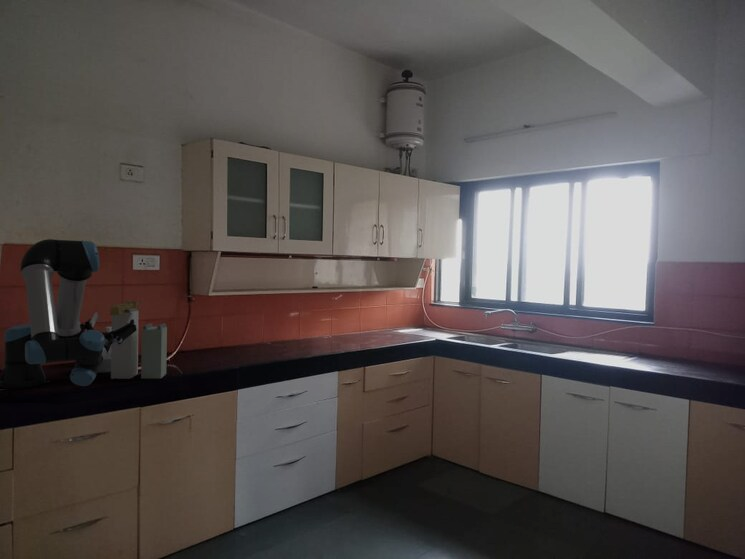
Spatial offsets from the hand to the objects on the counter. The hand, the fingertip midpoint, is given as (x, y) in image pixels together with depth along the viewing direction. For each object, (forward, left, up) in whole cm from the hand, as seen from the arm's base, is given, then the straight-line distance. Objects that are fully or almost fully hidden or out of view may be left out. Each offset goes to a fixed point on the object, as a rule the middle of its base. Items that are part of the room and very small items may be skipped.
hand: (115, 315), depth 200 cm
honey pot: (-15, +40, -28) cm, 51 cm away
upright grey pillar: (+11, +14, -28) cm, 33 cm away
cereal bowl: (-13, +25, -28) cm, 40 cm away
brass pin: (-1, +12, -1) cm, 12 cm away
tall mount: (-1, +14, -28) cm, 31 cm away
